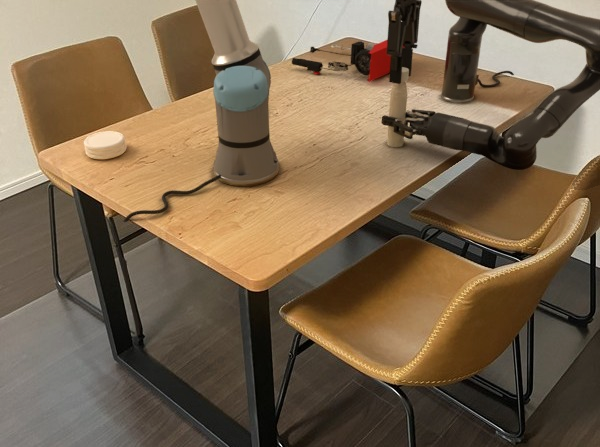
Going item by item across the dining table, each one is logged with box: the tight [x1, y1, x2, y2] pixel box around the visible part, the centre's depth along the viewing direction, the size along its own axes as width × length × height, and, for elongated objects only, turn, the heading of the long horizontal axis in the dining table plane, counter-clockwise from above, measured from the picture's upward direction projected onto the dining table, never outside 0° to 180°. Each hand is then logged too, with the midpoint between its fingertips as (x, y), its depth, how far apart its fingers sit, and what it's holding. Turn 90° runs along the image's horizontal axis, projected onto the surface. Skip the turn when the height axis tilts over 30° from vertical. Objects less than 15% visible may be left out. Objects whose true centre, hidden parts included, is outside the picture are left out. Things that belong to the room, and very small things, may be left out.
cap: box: [401, 67, 409, 82], centre depth 148 cm, size 4×4×2 cm
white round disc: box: [83, 130, 128, 160], centre depth 155 cm, size 10×10×4 cm
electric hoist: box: [291, 39, 405, 82], centre depth 206 cm, size 10×27×30 cm
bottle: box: [386, 81, 408, 148], centre depth 152 cm, size 4×4×19 cm
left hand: (400, 78), depth 148 cm, fingers open, 5 cm apart
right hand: (387, 116), depth 155 cm, fingers closed on bottle, 4 cm apart
